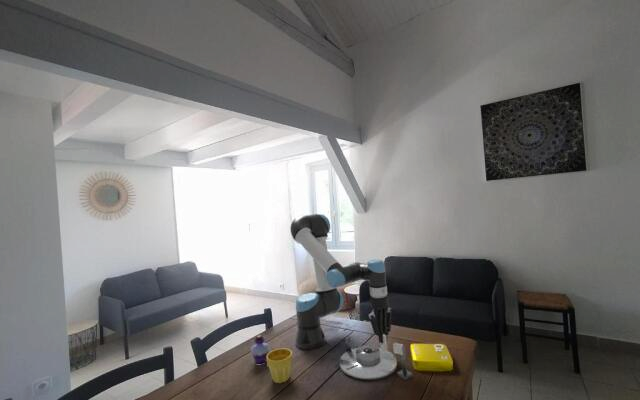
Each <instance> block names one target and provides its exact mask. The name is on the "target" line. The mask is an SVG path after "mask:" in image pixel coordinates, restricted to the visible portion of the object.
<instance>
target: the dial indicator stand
mask: <svg viewBox="0 0 640 400" xmlns="http://www.w3.org/2000/svg"><path fill="white" fill-rule="evenodd" d="M392 347H393V348H392V350H393V355H394V358H395V357H396V354H397V355H400V357H401V359H400V360H401V367H402V369H401V370H400V371H397V376H398V377H400V378H402V379H403V380H405V381H406V380H408V379H409V378H411V377H413V376H414V375H413V372H412V371H409V370H408V369H407V359H406V348H405V346H404V344H403V343H398V342H393V343H392ZM396 358H397V357H396Z"/></svg>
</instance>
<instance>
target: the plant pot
mask: <svg viewBox="0 0 640 400" xmlns="http://www.w3.org/2000/svg"><path fill="white" fill-rule="evenodd" d="M266 358H267V363H266V366H267V367H268V368H269V371H270V373H271V374H270V375H271V378H272V380H273V382H274V383H276V384H282V382H283V383H286V382H288V380H289V378H290V373H291V367H292V363H293V351H292V350H291V349H290V348H285V347H283V348H282V347H281V348H276V349H273V350H271V351H269V353H268V355H267V357H266Z"/></svg>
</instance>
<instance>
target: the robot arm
mask: <svg viewBox="0 0 640 400" xmlns="http://www.w3.org/2000/svg"><path fill="white" fill-rule="evenodd" d="M330 231H331V223H330V220H329V218H328V217H327V216H326V215H325V214H322V213H319V214H318V213H315V214H307V215H299V216H297V217H295V218H294V219H293V221H292V222H291V224H290V234H291V237H292V238H293V240H294V242H296V243H297V244H300V245H301V247H303V249H304V250H305V251H306V252H307V253H308V255H310V256H311V258H312V262H313V267H314V272H315V273H314V274H315V279H316V284H317V287H316V288H315V292H308V293H303V294H301V295H300V296H298V297H297V298H296V301H295V310H296V320H297V321H296V322H297V332H296V335H295V347H296V348H298V347H299V349H301V350H314V349H318V348H320V347H322V346H323V345H325V343H326V335H325V333H324V331H323V329H322V326H321V325H322V324H321V319H322V318H324V317H327V316H329V315H332V314H335V313H337V312H340V310H341V309H342V307H343V305H344V297H343V293H342V292H341V290H339V287H343V286H345V285H349V284H352V283H355V282H358V281H366V282H367V281H368V285H369V295H370V304H371V312H370V313H368V314H367V317H368V318H369V320H370V324H371V327H372V330H373V334H374V335H376V336H378V342H379V345H380V348H381V349H382V350H383V351H388V336H389V335H390V332H391V331H392V329H391V328H392V318H393V317H392V316H393V315H392V314H393V312H394V308H391V307H390V306H389V297H388V286H387V275H386V273H387V272H386V267H385V262H384V260H382V259H370V260H368V261H366V262H367V263H364V262H351V263H349V265H347V266H343V265H342V264H341V263H339V261H338V260H337V259H336V258H335V257H334V256H333V255H332V254H331V252H329V251H328V247H327V239H328V235H329V234H328V233H330Z"/></svg>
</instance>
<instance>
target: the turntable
mask: <svg viewBox="0 0 640 400" xmlns="http://www.w3.org/2000/svg"><path fill="white" fill-rule="evenodd" d="M344 342H345V343H344V344H345V352H344V353H342V355H341V356H340V358H339V361H338V362H339V368H340V370H341V371H342V372H343V373H344V374H345V375H347V376H349V377H351V378H354V379H358V380H359V379H360V380H366V381H367V380H378V379H382V378H385V377H389V376H390V375H392V374H393V373H394V372H396V369H397V367H398V361H397V357H395V358H394V353H392V352H391V351H389V350H387V351H383V350H382V349H381V347H378V348H379V350H380V360H381V361H380V363H379V364H378V365H376V366H372V367H365V366H361V365H359V364H358V363H357V359H356V349H357V348H358V347H356V348H352V346H351V345H352V344H351V337H350V336H345V337H344Z"/></svg>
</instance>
